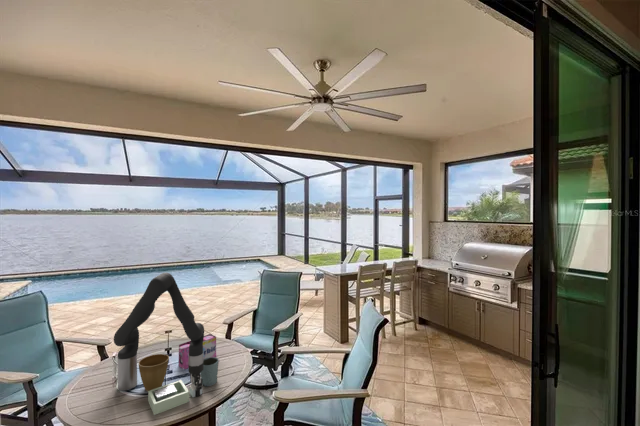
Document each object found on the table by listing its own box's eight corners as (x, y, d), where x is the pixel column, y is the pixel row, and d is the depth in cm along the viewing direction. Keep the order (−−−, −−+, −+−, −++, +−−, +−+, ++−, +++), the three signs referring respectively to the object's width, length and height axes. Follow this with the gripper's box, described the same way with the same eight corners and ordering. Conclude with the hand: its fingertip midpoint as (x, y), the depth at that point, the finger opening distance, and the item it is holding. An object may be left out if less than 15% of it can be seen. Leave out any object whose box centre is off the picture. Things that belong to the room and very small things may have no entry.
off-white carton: (189, 394, 161) (189, 385, 161) (199, 391, 164) (199, 381, 164) (192, 399, 157) (192, 389, 157) (202, 395, 160) (202, 385, 160)
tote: (148, 402, 154) (148, 390, 154) (181, 390, 164) (181, 379, 164) (154, 416, 143) (154, 404, 143) (189, 403, 154) (189, 391, 154)
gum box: (182, 370, 185) (182, 349, 185) (176, 366, 190) (176, 345, 190) (216, 356, 204) (216, 336, 204) (210, 353, 209) (210, 333, 209)
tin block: (154, 402, 153) (154, 391, 153) (173, 395, 159) (173, 384, 159) (157, 409, 147) (157, 397, 147) (176, 402, 153) (176, 390, 153)
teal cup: (200, 388, 167) (200, 367, 167) (199, 379, 176) (199, 358, 176) (219, 384, 171) (219, 363, 171) (217, 375, 180) (217, 355, 180)
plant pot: (163, 395, 160) (163, 365, 161) (133, 398, 158) (133, 367, 158) (172, 380, 175) (172, 352, 175) (145, 382, 173) (145, 354, 173)
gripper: (184, 359, 164) (184, 390, 164) (192, 369, 153) (192, 403, 153) (198, 355, 169) (198, 385, 169) (207, 365, 158) (207, 397, 158)
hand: (195, 393), depth 161 cm, fingers closed on off-white carton, 5 cm apart
